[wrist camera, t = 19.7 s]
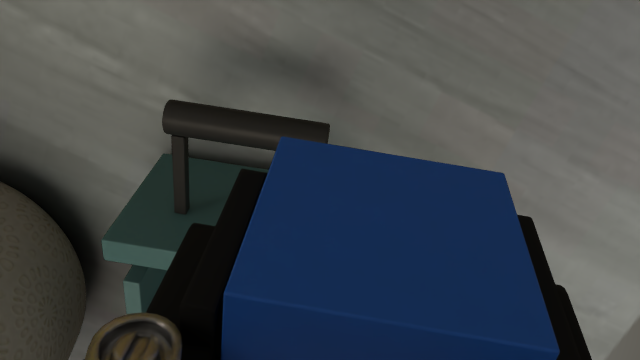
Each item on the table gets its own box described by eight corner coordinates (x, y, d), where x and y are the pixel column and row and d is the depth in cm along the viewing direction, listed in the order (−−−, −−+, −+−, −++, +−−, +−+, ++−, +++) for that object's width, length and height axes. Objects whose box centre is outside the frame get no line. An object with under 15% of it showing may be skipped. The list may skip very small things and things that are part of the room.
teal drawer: (158, 53, 28) (84, 123, 21) (383, 88, 27) (379, 169, 21) (171, 321, 38) (124, 422, 32) (335, 348, 38) (322, 457, 31)
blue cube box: (505, 172, 11) (561, 352, 7) (447, 328, 13) (468, 524, 9) (281, 135, 11) (223, 292, 7) (265, 296, 13) (214, 476, 10)
